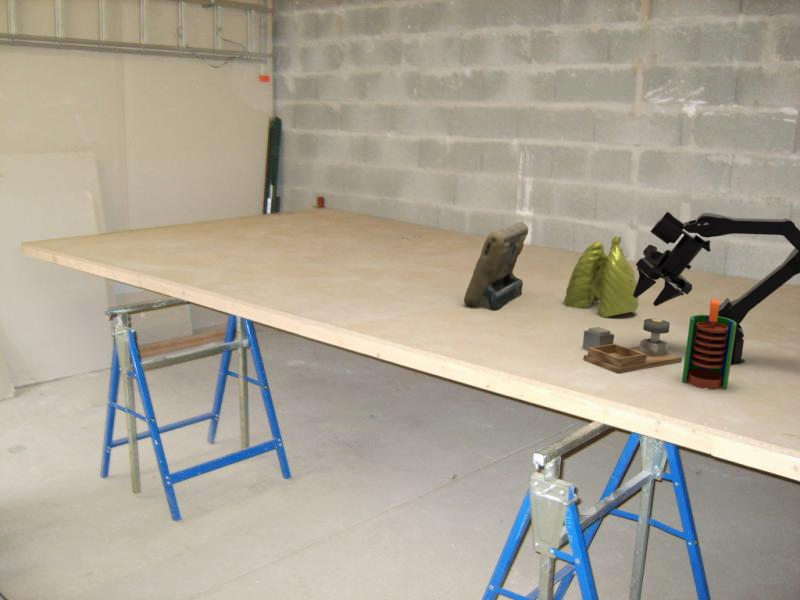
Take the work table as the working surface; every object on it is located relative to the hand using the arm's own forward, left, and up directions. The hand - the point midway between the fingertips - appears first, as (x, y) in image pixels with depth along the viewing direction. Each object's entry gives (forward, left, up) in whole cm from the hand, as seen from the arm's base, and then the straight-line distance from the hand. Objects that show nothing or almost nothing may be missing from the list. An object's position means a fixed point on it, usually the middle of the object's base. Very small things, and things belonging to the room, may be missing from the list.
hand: (644, 301), depth 218 cm
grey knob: (-7, +3, -9) cm, 12 cm away
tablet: (+61, +1, -14) cm, 63 cm away
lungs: (+38, -24, -14) cm, 47 cm away
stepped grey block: (+4, +12, -13) cm, 18 cm away
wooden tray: (-7, +10, -13) cm, 18 cm away
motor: (-27, +8, -13) cm, 31 cm away
